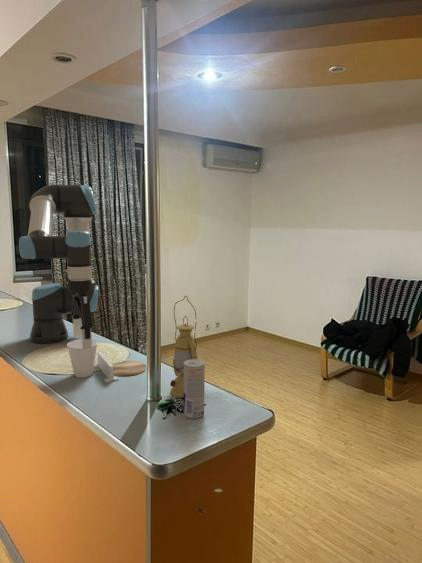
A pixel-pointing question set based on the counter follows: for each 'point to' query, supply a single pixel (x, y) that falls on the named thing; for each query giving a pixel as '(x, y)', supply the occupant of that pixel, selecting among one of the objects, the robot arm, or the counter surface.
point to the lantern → (182, 355)
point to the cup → (82, 358)
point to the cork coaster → (128, 368)
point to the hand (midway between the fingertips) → (82, 342)
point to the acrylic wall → (106, 368)
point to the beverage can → (194, 388)
